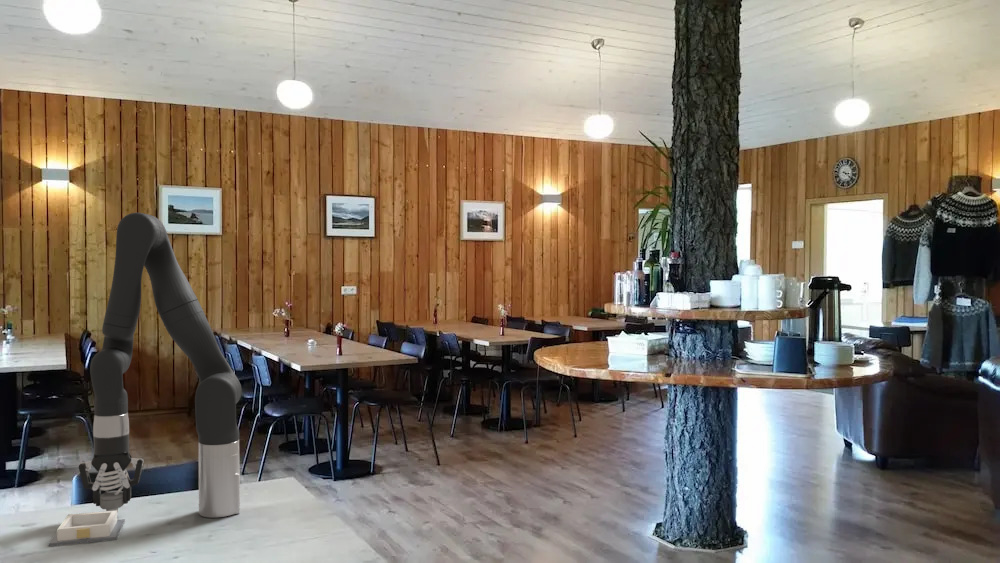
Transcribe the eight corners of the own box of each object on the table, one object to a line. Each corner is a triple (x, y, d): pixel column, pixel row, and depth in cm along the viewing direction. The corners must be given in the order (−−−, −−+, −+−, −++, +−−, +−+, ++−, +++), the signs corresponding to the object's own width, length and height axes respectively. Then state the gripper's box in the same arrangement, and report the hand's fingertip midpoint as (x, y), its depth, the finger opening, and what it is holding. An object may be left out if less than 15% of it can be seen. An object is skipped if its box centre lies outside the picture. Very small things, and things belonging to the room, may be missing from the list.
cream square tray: (117, 521, 176) (117, 510, 176) (108, 536, 166) (108, 525, 166) (68, 525, 173) (68, 514, 173) (56, 541, 163) (56, 530, 163)
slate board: (125, 521, 178) (125, 519, 178) (116, 539, 166) (116, 537, 166) (61, 527, 174) (61, 524, 174) (48, 546, 163) (48, 543, 163)
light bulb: (131, 513, 183) (130, 463, 183) (112, 521, 178) (111, 469, 178) (112, 511, 185) (111, 461, 185) (93, 518, 180) (92, 467, 180)
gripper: (146, 427, 187) (147, 496, 187) (80, 431, 182) (81, 502, 183) (142, 434, 180) (143, 506, 180) (73, 438, 175) (74, 512, 176)
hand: (112, 503), depth 182 cm, fingers closed on light bulb, 5 cm apart
